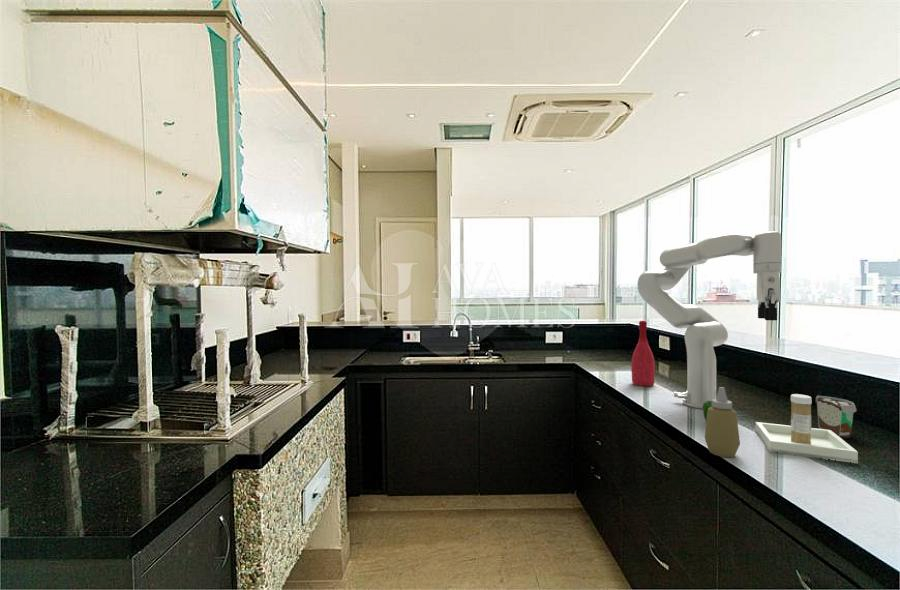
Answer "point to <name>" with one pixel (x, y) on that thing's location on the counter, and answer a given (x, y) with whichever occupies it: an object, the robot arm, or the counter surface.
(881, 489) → the counter surface
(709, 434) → the squeeze bottle
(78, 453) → the counter surface
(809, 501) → the counter surface
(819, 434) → the tray
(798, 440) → the sprinkles bottle
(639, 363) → the wine bottle
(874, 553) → the counter surface
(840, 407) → the food container
